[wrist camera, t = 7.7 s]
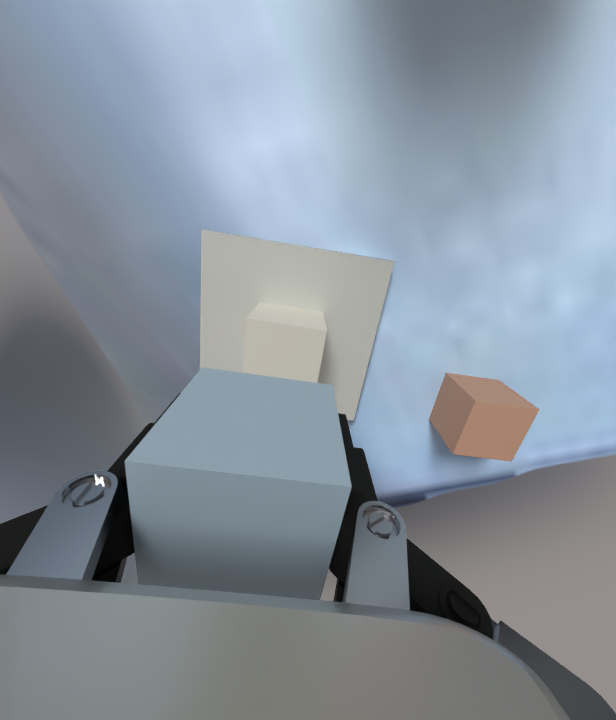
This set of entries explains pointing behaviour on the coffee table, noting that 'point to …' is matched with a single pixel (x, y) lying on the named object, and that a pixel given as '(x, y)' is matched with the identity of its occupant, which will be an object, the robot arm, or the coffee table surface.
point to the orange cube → (481, 417)
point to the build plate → (292, 303)
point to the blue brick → (240, 487)
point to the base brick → (284, 342)
